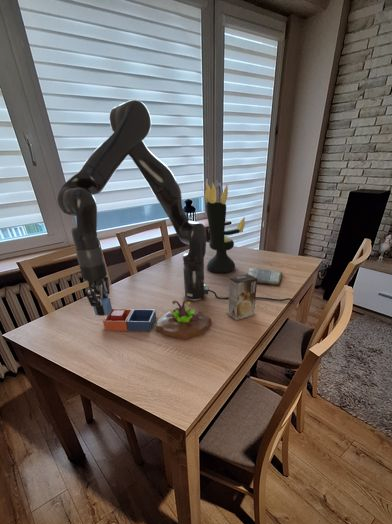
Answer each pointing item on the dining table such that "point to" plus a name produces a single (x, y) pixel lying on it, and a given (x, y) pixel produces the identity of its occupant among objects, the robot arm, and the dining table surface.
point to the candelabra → (219, 231)
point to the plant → (183, 322)
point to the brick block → (118, 315)
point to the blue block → (105, 306)
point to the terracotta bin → (117, 324)
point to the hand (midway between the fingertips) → (103, 311)
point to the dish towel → (266, 276)
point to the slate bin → (141, 320)
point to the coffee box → (242, 296)
